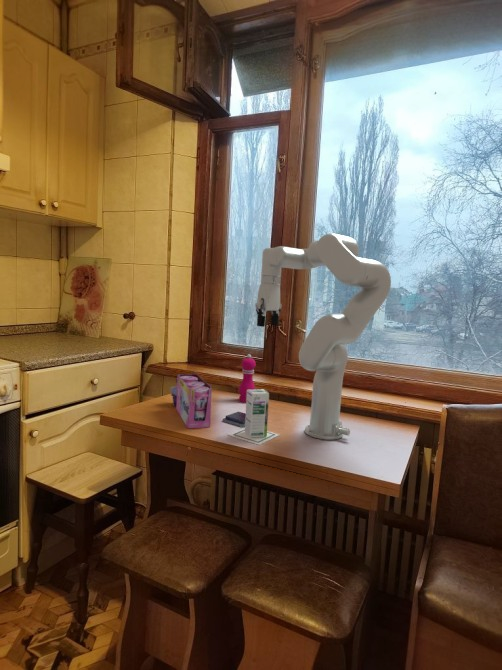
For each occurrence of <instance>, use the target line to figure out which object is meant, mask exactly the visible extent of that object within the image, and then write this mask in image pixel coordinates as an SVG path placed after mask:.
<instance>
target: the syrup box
mask: <svg viewBox="0 0 502 670" xmlns="http://www.w3.org/2000/svg"><path fill="white" fill-rule="evenodd" d="M269 399H270V392H268V391H267V390H266V389H263V388H262V389H255V390H247V398H246V403H245V404H246V405H245V413H246V418H245V427H244V428H245V433H246V434H247V435H248V436H249V437H250V438H253V437H266V436H267V431H268V420H269V419H268V418H269V417H268V416H269V402H270V400H269Z"/></svg>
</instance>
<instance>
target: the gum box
mask: <svg viewBox="0 0 502 670" xmlns="http://www.w3.org/2000/svg"><path fill="white" fill-rule="evenodd" d="M176 378H177V382H176V383H177V384H176V386H177V404H176V407H175V409H176V411H177V413H178V415H179V416H180V418H181V420H182V421H183V423H184V424H185V426H186V428H187V429H201V428H202V429H203V428H210V427H211V417H212V416H211V414H212V393H213V392H212V391H213V390H212V389H213V388H212V386H211V385H210V384H208V383H207V382H206V381H205V379H203V378H202V377H201V376H200V375H199V374H196V373H194V374H193V373H192V374H191V373H189V374H188V373H187V374H177V377H176Z"/></svg>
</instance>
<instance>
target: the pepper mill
mask: <svg viewBox="0 0 502 670" xmlns="http://www.w3.org/2000/svg"><path fill="white" fill-rule="evenodd" d="M256 366H257V364H256V361H255V359H254V358H252V355H251V354H250V353H249V354H247V355H246V357H245V358H243V360H241V368H242V370H241V372H242V374H243V375H242V381H241V383H240V385H239V386H238V394H239V397H238V401H239V402H240V403H244V404H246V398H247V390H256V386H255V383H254V381H253V375H254V374H255V370H254V369H255V368H256Z"/></svg>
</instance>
